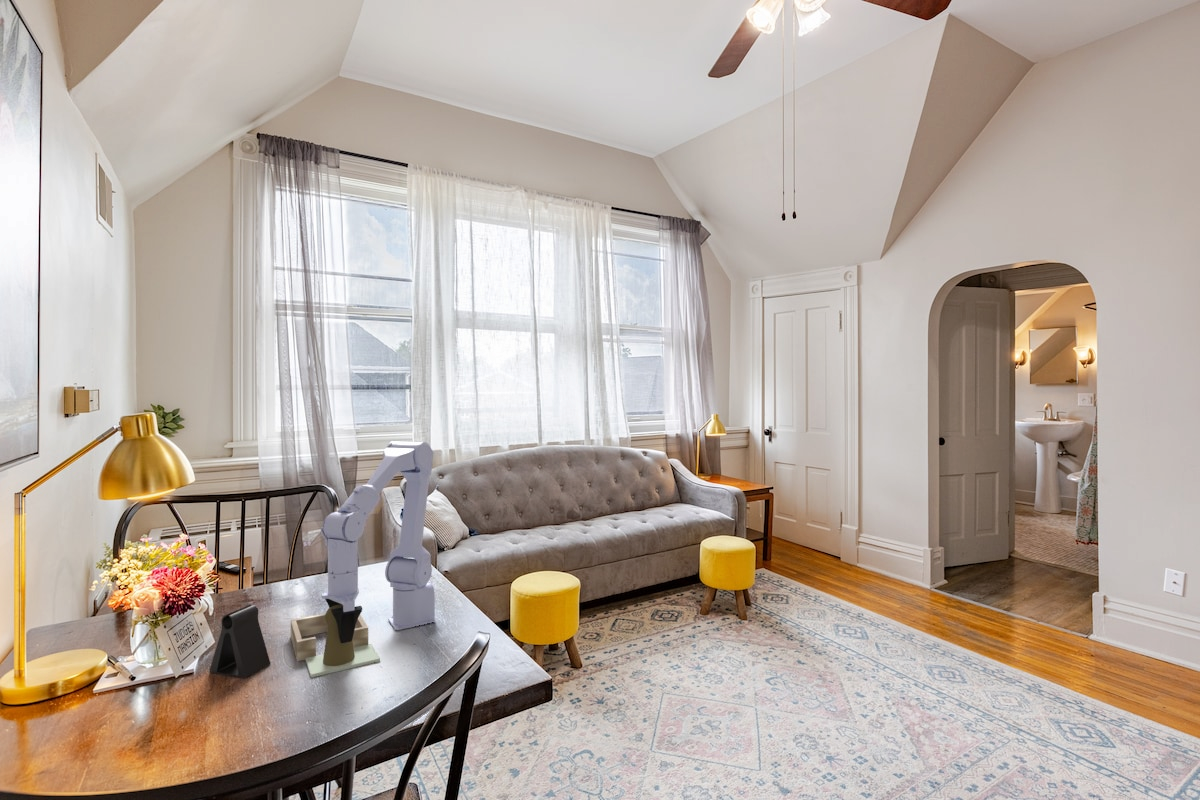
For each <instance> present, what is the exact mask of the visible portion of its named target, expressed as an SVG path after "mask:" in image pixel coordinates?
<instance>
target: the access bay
mask: <svg viewBox="0 0 1200 800" xmlns="http://www.w3.org/2000/svg"><path fill="white" fill-rule="evenodd" d="M325 614H326V613H321V614H317V615H311V616H310V615H309V616H305V617H300V618H295V619H294V618H293V619H290V640H291V644H292V647H293V651H294V655H295V658H296V661H297V662H300V661H306V658H309V657H313V656H317V638H316V636H314V635H318V634H324V633H327V629H328V624H327V622H326V620H325ZM308 636H313V637H308ZM303 637H306V638H303ZM307 637H308V638H307ZM352 641H353V648H354V647H359V646H363V645H368V644H369V626H368V625H367V623H366V622H365V620H364V619H363V616H362V615H361V614H360V615H359V617H358V620H357V622H356V626H355V630H354V635H353V639H352Z"/></svg>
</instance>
